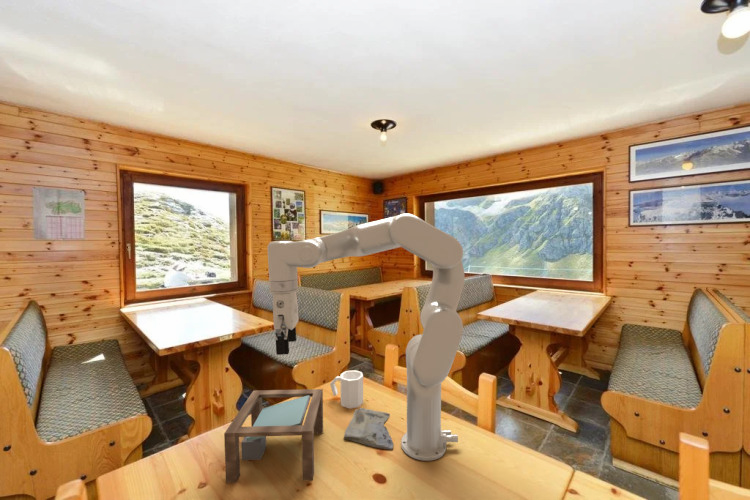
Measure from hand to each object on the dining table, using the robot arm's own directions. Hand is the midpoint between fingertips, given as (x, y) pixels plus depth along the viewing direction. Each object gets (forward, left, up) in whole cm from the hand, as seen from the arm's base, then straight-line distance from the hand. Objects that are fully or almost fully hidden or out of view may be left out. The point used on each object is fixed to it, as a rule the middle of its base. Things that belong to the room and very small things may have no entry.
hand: (286, 347), depth 90 cm
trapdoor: (+1, +2, -19) cm, 19 cm away
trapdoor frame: (+2, +2, -29) cm, 29 cm away
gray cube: (+7, +2, -27) cm, 27 cm away
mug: (-15, -24, -29) cm, 41 cm away
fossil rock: (-23, -8, -30) cm, 39 cm away
